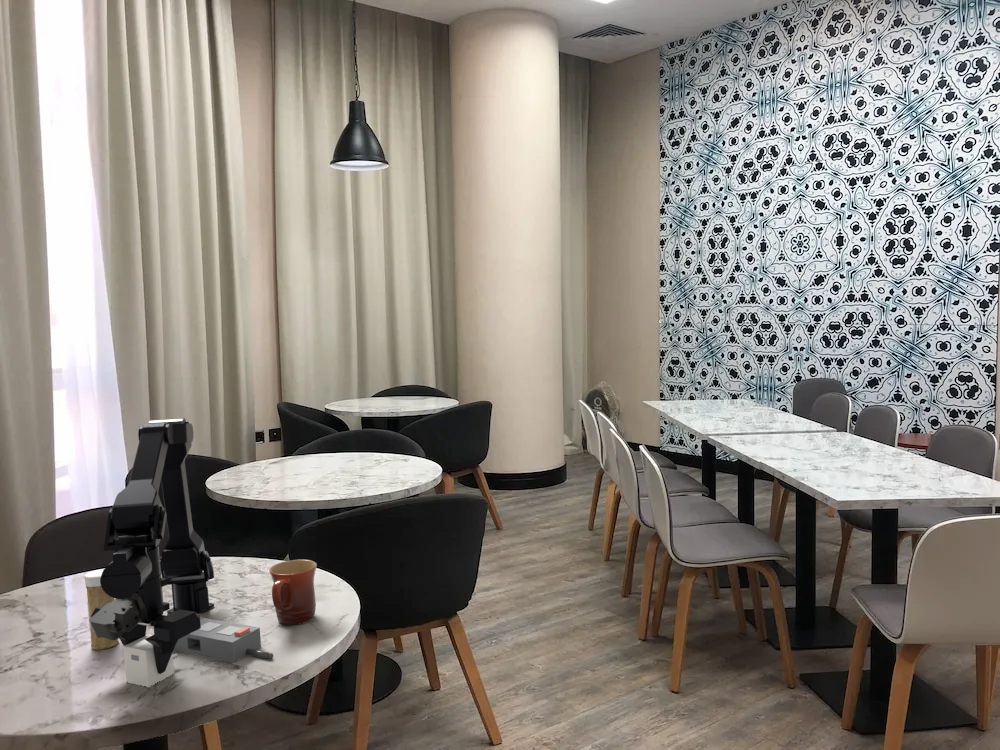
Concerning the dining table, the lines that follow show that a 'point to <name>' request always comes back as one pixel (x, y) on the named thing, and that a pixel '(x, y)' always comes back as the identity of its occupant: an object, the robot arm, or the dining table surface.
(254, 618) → the dining table surface
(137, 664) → the block
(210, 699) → the dining table surface
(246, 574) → the dining table surface
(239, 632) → the power strip
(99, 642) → the sprinkles bottle
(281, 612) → the mug
